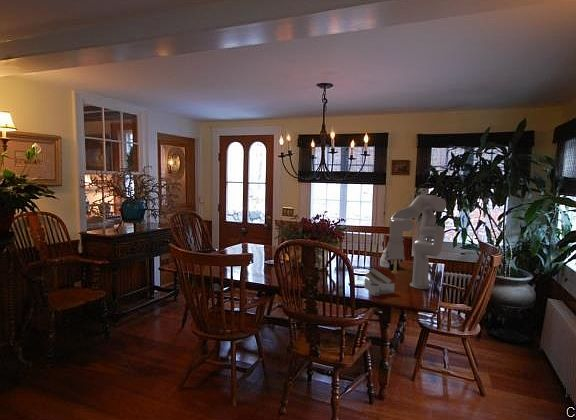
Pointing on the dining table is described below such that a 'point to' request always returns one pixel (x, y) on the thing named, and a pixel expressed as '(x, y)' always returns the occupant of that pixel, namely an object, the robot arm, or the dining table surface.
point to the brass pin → (394, 267)
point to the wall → (377, 277)
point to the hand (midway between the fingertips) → (394, 270)
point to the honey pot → (384, 262)
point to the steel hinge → (378, 288)
